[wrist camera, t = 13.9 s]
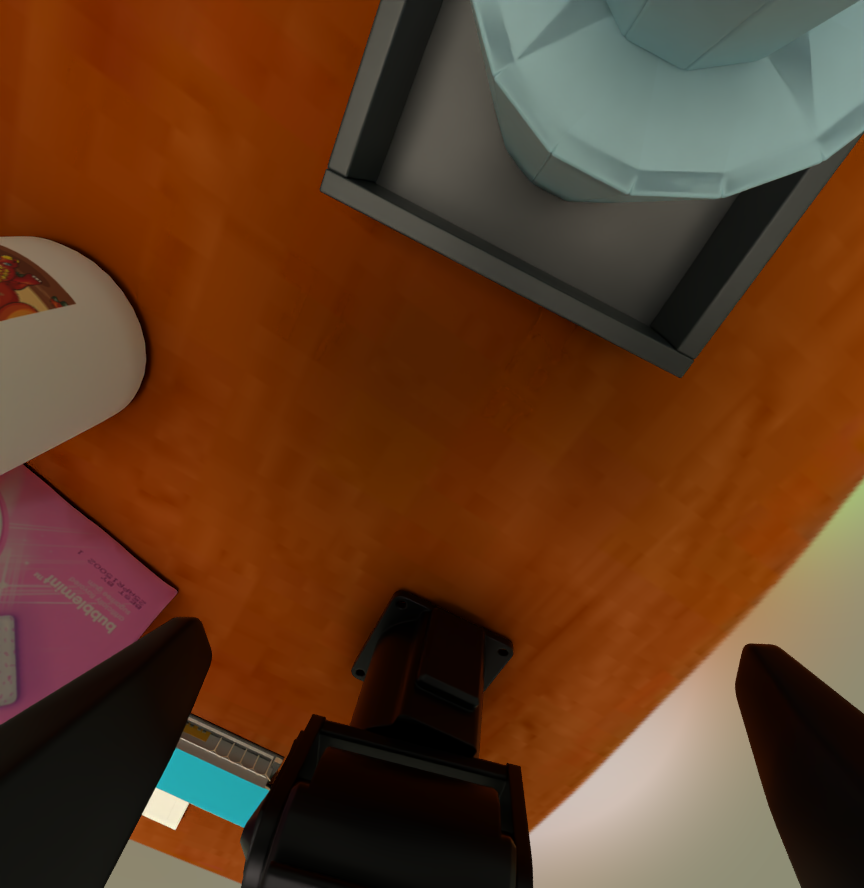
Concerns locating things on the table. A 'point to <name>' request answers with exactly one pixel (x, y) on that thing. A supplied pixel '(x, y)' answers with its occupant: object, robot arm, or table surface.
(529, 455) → the table surface
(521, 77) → the light blue vase
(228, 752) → the phone stand
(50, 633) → the gum box
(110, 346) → the milk bottle
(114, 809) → the robot arm
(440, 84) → the tray
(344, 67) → the table surface
